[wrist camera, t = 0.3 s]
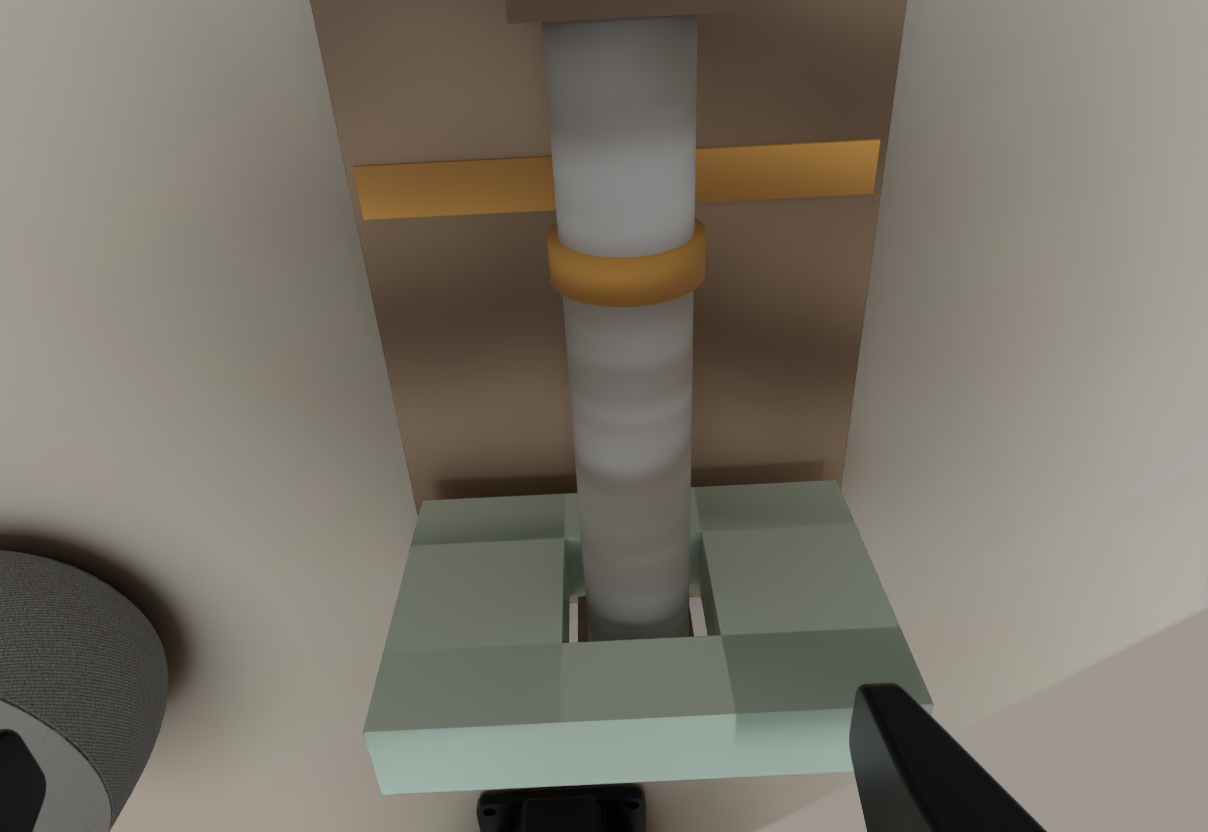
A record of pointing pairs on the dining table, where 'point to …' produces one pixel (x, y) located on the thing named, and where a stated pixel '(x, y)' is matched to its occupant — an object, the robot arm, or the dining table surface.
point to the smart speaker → (78, 687)
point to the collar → (630, 649)
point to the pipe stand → (616, 252)
